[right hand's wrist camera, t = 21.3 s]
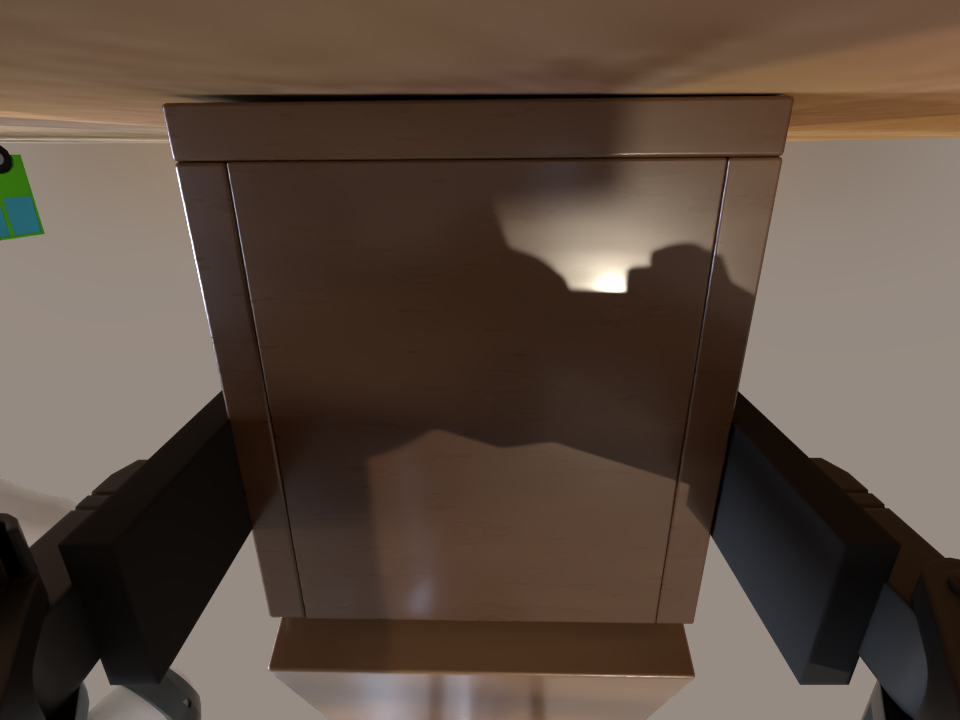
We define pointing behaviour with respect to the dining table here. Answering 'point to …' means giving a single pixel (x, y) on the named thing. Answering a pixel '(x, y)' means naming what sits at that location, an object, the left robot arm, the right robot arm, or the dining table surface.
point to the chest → (480, 342)
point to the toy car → (16, 200)
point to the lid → (481, 668)
